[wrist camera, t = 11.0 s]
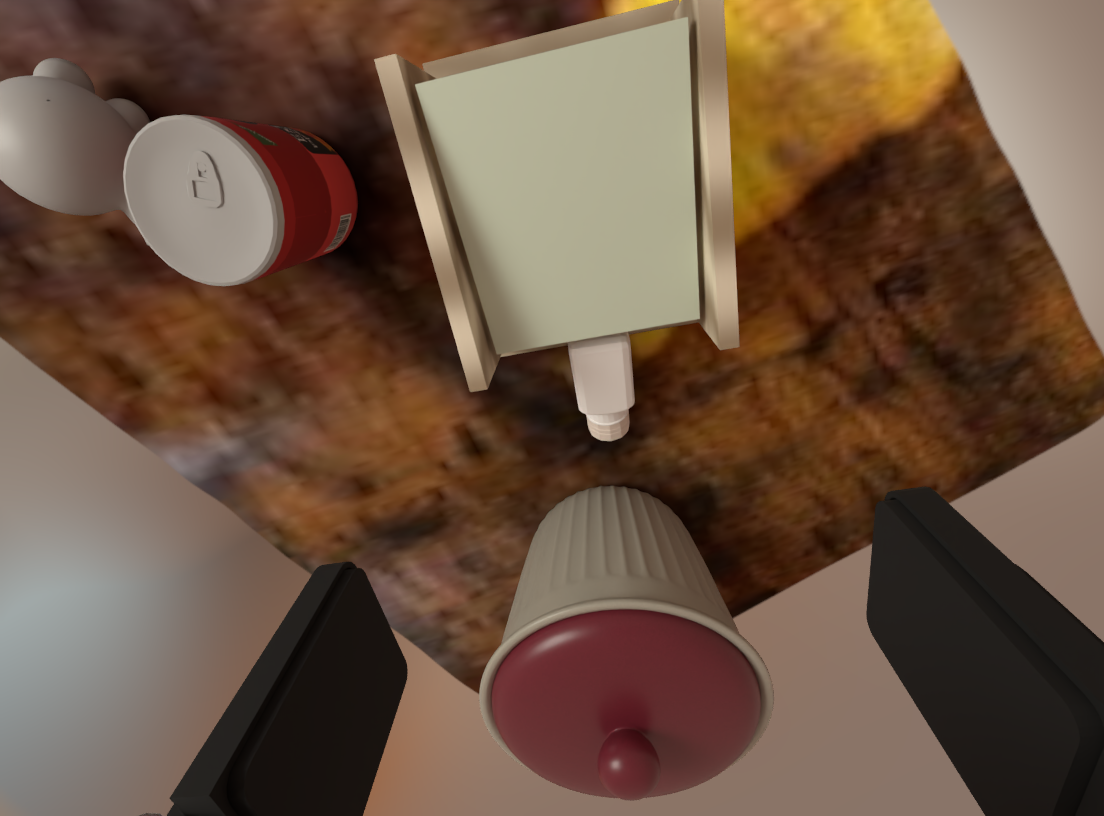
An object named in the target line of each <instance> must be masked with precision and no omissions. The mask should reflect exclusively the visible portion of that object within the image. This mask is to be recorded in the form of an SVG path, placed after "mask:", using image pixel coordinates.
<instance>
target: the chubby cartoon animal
mask: <svg viewBox="0 0 1104 816" xmlns="http://www.w3.org/2000/svg"><path fill="white" fill-rule="evenodd" d="M148 123H150V120H149V118H148V116H147V114H146V113H145V112H144V111H143V109H142V108H141V107H139V106H138V105H137V104H135V103H134V102H132V101H129V100H126V99H121V98H115V99H110V100H108V101H106V102H105V101H104V100H103V99H101V98H100V97H98V96H97V95H95V89H94V86H93V83H92V81H91V80H90V78H89V76H88V75H87V74H86V73H85V72H84V71H83V70H82V69H81V68H80V67H79V66H77V65H76V64H74V63H72V62H70V61H67V60H64V59H59V58H50V59H46V60H44V61H42V62H40V63H39V64H38V65H37V67H36V68H35V70H34V73H33V76H20V77H15V78H10V79H7V80H4V81H2V82H0V179H1V180H2V181H3V182H4V183H5V184H6V185H8V186H9V187H10V188H11V189H13V190H14V191H15V192H17V193H18V194H20V195H21V196H23V197H25V198H26V199H28V200H30V201H32V202H34V203H36V204H38V205H40V206H43V207H45V208H48V209H51V210H54V211H58V212H62V213H66V214H73V215H98V214H103V213H107V212H110V211H114V210H122V211H123V212H124V213H125V214H126V215H127V216H128V217H129V219H130V220H131V221H132V222H133V223H134V224H135V222H134V219H133V217H132V215H131V212H130V210H129V207H128V203H127V199H126V196H125V192H124V180H123V171H124V162H125V157H126V154H127V151H128V148H129V145H130V144H131V142H132V141H133V139H134V137H135V136H136V134H137V133H138V132H139V131H140V130H141V129H142V128H144V127H145V126H146V125H147V124H148ZM135 225H136V224H135ZM145 242H146V240H145ZM146 243H147V242H146ZM147 245H148V246H150V245H149V244H148V243H147Z"/></svg>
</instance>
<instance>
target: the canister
mask: <svg viewBox="0 0 1104 816" xmlns="http://www.w3.org/2000/svg"><path fill="white" fill-rule="evenodd" d="M479 701H480V709H481V713H482V717H483V720H484V722H485V724H486V727H487V728H488V730H489V732H490V734H491V735H492V737H493V738H494V740H495V741H496V742H497V744H498V745H499V746H500V747H501V748H502V749H503V750H504V751H505V752H506V753H507V754H508V755H509V756H510V757H512V758H513V759H514V760H515V761H516V762H518V763H519V764H521V765H522V766H524V767H525V768H527V769H529V770H530V771H532V772H534V773H536V774H538V775H539V776H541V777H543V778H545V779H546V780H548V781H550V782H552V783H555V784H557V785H559V786H562V787H565V788H567V789H570V790H573V791H577V792H580V793H585V794H589V795H594V796H601V797H609V798H620V799H623V800H639V799H642V798H647V797H655V796H662V795H667V794H672V793H676V792H679V791H682V790H686V789H689V788H692V787H694V786H697V785H699V784H701V783H703V782H706V781H708V780H709V779H711V778H713V777H715V776H716V775H718V774H719V773H721V772H722V771H724V770H725V769H727V768H729V767H730V766H732V765H733V764H735V763H736V762H737V761H739V760H740V759H741V758H743V757H744V756H745V755H746V754H747V753H748V752H749V751H750V750H751V749H752V748H753V747H754V746H755V745H756V743H757V742H758V741H759V739H760V738H761V737H762V735H763V733H764V731H765V730H766V728H767V725H768V723H769V721H770V718H771V715H772V710H773V704H774V692H773V685H772V681H771V678H770V675H769V672H768V669H767V667H766V665H765V663H764V661H763V660H762V658H761V657H760V655H759V654H758V653H757V651H756V650H755V649H754V648H753V647H752V645H750V643H749V642H748V641H747V640H746V639H744V638H743V637H742V636H741V635H740V634H739V632H738V629H737V627H736V625H735V623H734V621H733V619H732V617H731V615H730V613H729V611H728V609H727V607H726V605H725V603H724V601H723V599H722V597H721V595H720V593H719V591H718V588H717V586H716V584H715V582H714V580H713V578H712V576H711V574H710V572H709V570H708V568H707V566H706V564H705V562H704V560H703V558H702V556H701V555H700V553H699V551H698V549H697V547H696V545H695V543H694V541H693V540H692V538H691V536H690V534H689V532H688V531H687V529H686V528H685V526H684V525H683V523H682V521H681V520H680V519H679V517H678V516H677V515H676V514H674V513H673V511H672V510H671V509H670V508H669V507H668V506H667V505H665V504H663V503H662V502H661V501H660V500H659V499H657V498H654V497H652V496H651V495H650V494H648V493H645V492H641V491H639V490H637V489H630V488H627V487H625V486H622V487H616V486H613V485H612V486H599V487H597V488H588V489H587V490H584V491H579V492H577V493H576V494H574V495H572V496H568V497H567V498H566V499H565V500H564V501H562V502H560V503H558V504H557V505H556V506H555V508H554V509H552V510H551V511H549V513H548V514H547V515H546V518H545V519H544V520H543V521H542V522H541V523H540V525H539V527H538V530H537V532H536V533H535V535H534V538H533V540H532V543H531V546H530V549H529V552H528V555H527V558H526V561H525V564H524V567H523V571H522V574H521V577H520V581H519V584H518V588H517V591H516V595H515V598H514V602H513V605H512V609H511V612H510V616H509V619H508V622H507V626H506V629H505V633H504V637H503V640H502V644H501V645H500V647H499V648H498V649H497V650H496V652H495V653H494V654H493V656H492V657H491V659H490V660H489V662H488V664H487V666H486V668H485V671H484V673H483V676H482V680H481V685H480V693H479Z"/></svg>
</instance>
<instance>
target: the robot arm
mask: <svg viewBox="0 0 1104 816" xmlns="http://www.w3.org/2000/svg"><path fill="white" fill-rule="evenodd" d="M867 622H868V625H869V628H870V631H871V633H872V635H873V637H874V639H875V640H876V642H877V643H878V645H879V647H880V648H881V650H882V651H883V653H884V654H885V656H886V658H887V659H888V661H889V663H890V664H891V666H892V667H893V669H894V670H895V672H896V674H897V675H898V677H899V679H900V680H901V682H902V683H903V685H904V686H905V688H906V689H907V691H908V693H909V694H910V696H911V698H912V699H913V701H914V702H915V704H916V706H917V707H918V709H919V710H920V712H921V714H922V715H923V717H924V718H925V720H926V721H927V723H928V725H929V726H930V728H931V730H932V731H933V733H934V734H935V736H936V737H937V739H938V741H939V742H940V744H941V745H942V747H943V749H944V750H945V752H946V754H947V755H948V757H949V758H950V760H951V762H952V763H953V764H954V766H955V768H956V770H957V771H958V773H959V774H960V776H961V778H962V779H963V781H964V782H965V784H966V786H967V787H968V789H969V790H970V792H971V794H972V795H973V797H974V798H975V800H976V801H977V803H978V805H979V806H980V808H981V809H982V811H983V813H984V814H985V816H1104V642H1103V641H1102V640H1101V639H1099V638H1098V637H1097V636H1096V635H1095V634H1094V633H1093V632H1092V631H1091V630H1090V629H1088V628H1087V627H1086V626H1085V625H1084V624H1083V623H1082V622H1081V621H1080V620H1079V619H1077V618H1076V617H1075V616H1074V615H1073V614H1072V613H1071V612H1070V611H1069V610H1068V609H1067V608H1065V607H1064V606H1063V605H1062V604H1061V603H1060V602H1059V601H1058V600H1057V599H1056V598H1054V597H1053V596H1052V595H1051V594H1050V593H1049V592H1048V591H1046V590H1045V588H1043V587H1042V586H1041V585H1040V584H1039V583H1038V582H1037V581H1036V580H1035V579H1034V578H1032V577H1031V576H1030V575H1029V574H1028V573H1027V572H1026V571H1024V570H1023V569H1022V568H1020V567H1019V566H1017V565H1016V564H1014V563H1013V562H1012V561H1011V560H1010V559H1008V558H1007V557H1006V556H1005V555H1004V554H1003V553H1002V552H1001V551H1000V550H999V549H998V548H996V547H995V546H994V545H993V544H992V543H991V542H990V541H989V540H988V539H987V538H986V537H984V536H983V535H982V534H981V533H980V532H979V531H978V530H977V529H976V528H975V527H973V526H972V525H971V524H970V523H969V522H968V521H967V520H966V519H965V518H964V517H963V516H962V515H960V514H959V513H958V512H957V511H956V510H955V509H954V508H953V507H952V506H951V505H950V504H949V503H947V502H946V501H945V500H944V499H943V498H942V497H941V496H940V495H939V494H938V493H937V492H935V491H934V490H933V489H931V488H929V487H918V488H911V489H903V490H895V491H890V492H888V493H887V495H886V497H885V501H880V502H878V503H877V505H876V509H875V520H874V532H873V543H872V555H871V566H870V578H869V589H868V601H867ZM406 680H407V663H406V660H405V658H404V656H403V654H402V651H401V649H400V647H399V645H398V643H397V641H396V639H395V637H394V634H393V632H392V630H391V628H390V625H389V623H388V621H387V619H386V617H385V615H384V613H383V610H382V608H381V606H380V604H379V602H378V600H377V597H376V595H375V593H374V591H373V589H372V587H371V584H370V582H369V580H368V578H367V576H366V574H365V572H364V570H363V569H361V568H357V567H356V566H355V564H353V563H352V562H342V563H334V564H327V565H321V566H319V567H318V568H317V569H316V570H315V571H314V573H313V574H312V576H311V578H310V579H309V581H308V582H307V584H306V585H305V587H304V589H303V590H302V592H301V593H300V595H299V596H298V598H297V600H296V601H295V603H294V604H293V606H292V607H291V609H290V610H289V612H288V614H287V615H286V617H285V619H284V620H283V621H282V623H281V625H280V626H279V628H278V629H277V631H276V632H275V634H274V635H273V637H272V639H271V640H270V642H269V643H268V645H267V646H266V648H265V650H264V651H263V653H262V654H261V656H260V658H259V659H258V661H257V662H256V664H255V665H254V667H253V668H252V670H251V672H250V673H249V675H248V676H247V678H246V679H245V681H244V682H243V684H242V686H241V687H240V689H239V690H238V692H237V694H236V695H235V697H234V698H233V700H232V701H231V703H230V705H229V706H228V708H227V709H226V711H225V712H224V714H223V716H222V717H221V719H220V720H219V722H218V723H217V725H216V726H215V728H214V730H213V731H212V733H211V734H210V736H209V738H208V739H207V741H206V742H205V744H204V745H203V747H202V748H201V750H200V752H199V753H198V755H197V756H196V758H195V759H194V761H193V762H192V764H191V766H190V767H189V769H188V770H187V772H186V773H185V775H184V777H183V778H182V780H181V781H180V783H179V785H178V786H177V788H176V789H175V791H174V792H173V794H172V795H171V797H170V799H171V800H172V802H174V805H173V806H172V808H171V810H170V811H169V813H168V814H167V816H363V813H364V810H365V807H366V804H367V801H368V797H369V795H370V792H371V789H372V786H373V782H374V779H375V776H376V773H377V770H378V767H379V764H380V761H381V758H382V755H383V752H384V748H385V745H386V743H387V739H388V736H389V733H390V730H391V727H392V724H393V721H394V718H395V715H396V712H397V709H398V706H399V703H400V700H401V696H402V693H403V690H404V687H405V684H406ZM139 816H162V815H161V814H156V813H146V814H142V815H139Z"/></svg>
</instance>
